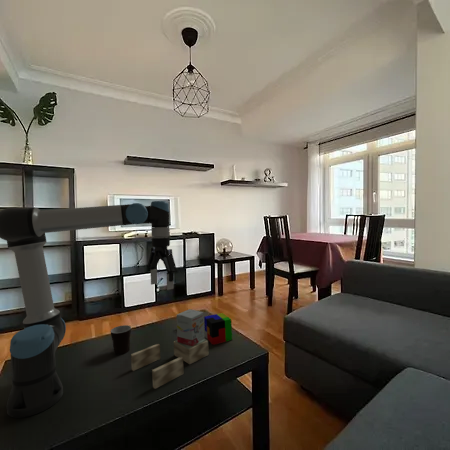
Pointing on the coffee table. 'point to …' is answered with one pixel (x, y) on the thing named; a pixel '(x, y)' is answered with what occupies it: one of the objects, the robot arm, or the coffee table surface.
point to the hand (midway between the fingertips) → (161, 286)
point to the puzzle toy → (218, 328)
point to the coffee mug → (121, 339)
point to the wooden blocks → (172, 367)
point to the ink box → (190, 327)
